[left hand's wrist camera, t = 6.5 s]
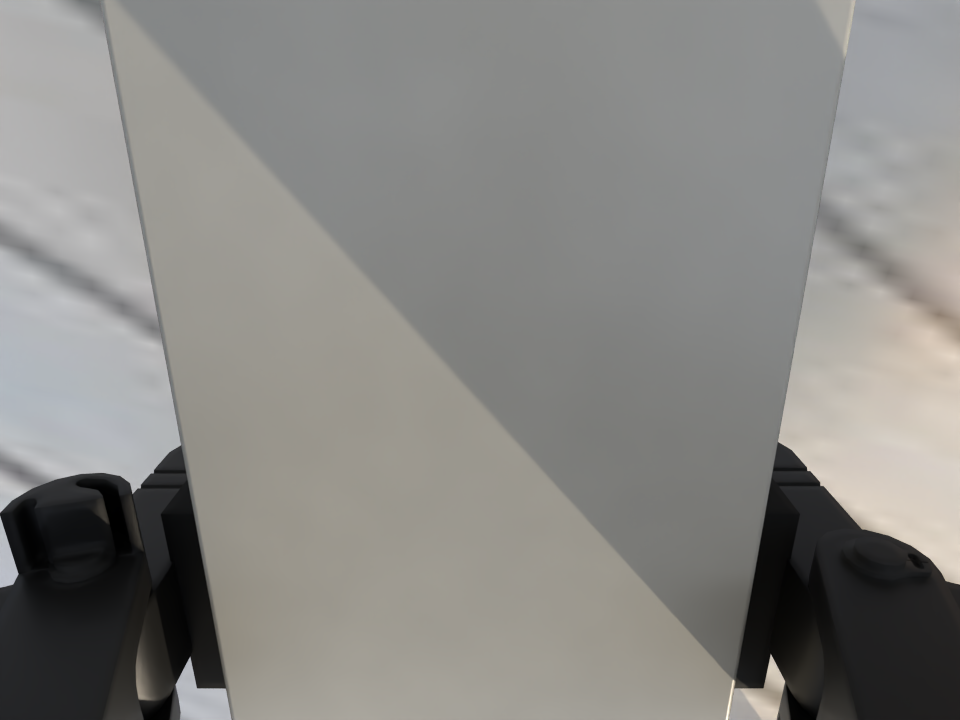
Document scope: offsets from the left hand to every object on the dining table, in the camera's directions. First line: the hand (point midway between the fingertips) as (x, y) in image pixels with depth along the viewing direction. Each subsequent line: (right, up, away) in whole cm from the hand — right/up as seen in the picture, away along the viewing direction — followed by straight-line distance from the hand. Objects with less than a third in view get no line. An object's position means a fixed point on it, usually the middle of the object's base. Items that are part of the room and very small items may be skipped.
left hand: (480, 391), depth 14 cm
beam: (0, -19, +8) cm, 21 cm away
